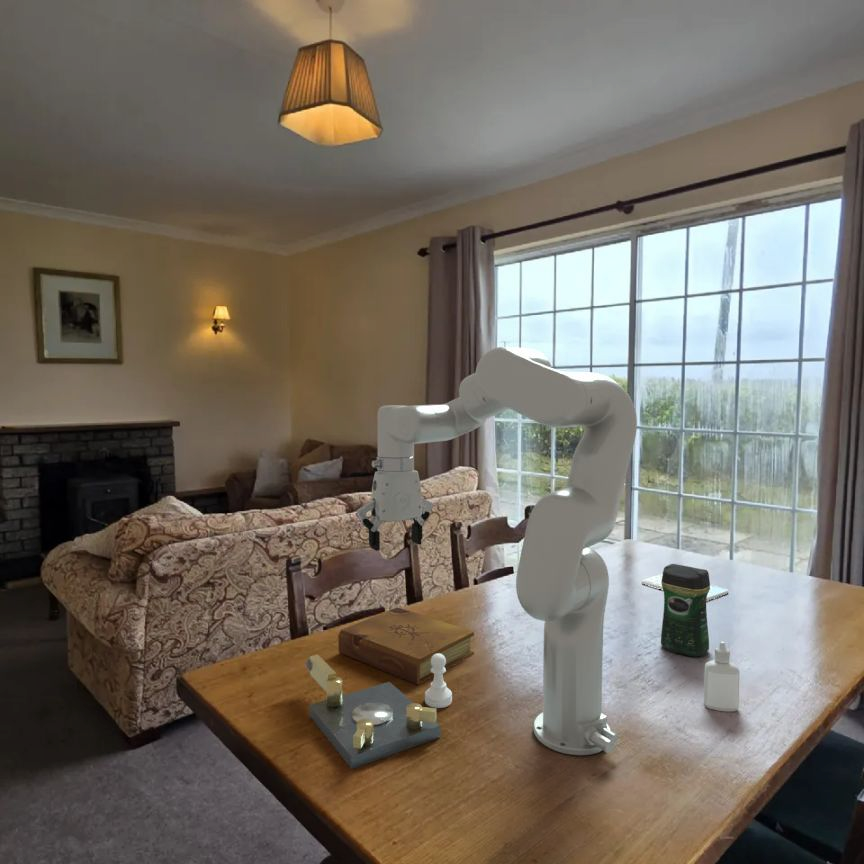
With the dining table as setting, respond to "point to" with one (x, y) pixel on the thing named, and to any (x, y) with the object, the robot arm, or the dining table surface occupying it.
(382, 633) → the diary
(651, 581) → the calculator
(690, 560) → the dining table surface
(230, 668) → the dining table surface
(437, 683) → the chess pawn
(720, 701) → the eye dropper bottle
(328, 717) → the levelling plate
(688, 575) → the coffee jar
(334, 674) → the brass lever
